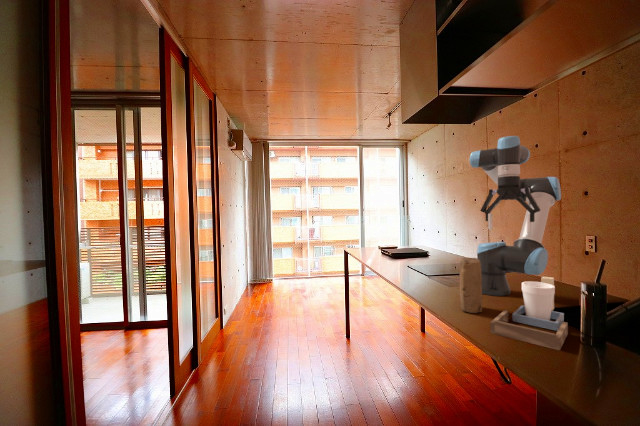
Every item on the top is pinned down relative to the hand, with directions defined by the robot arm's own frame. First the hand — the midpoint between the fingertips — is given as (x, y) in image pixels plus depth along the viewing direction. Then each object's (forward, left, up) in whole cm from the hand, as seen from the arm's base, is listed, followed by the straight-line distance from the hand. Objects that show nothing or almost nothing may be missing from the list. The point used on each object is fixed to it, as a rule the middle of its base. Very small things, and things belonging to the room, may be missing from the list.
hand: (509, 230), depth 122 cm
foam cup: (+7, +15, -31) cm, 35 cm away
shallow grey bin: (+19, +19, -31) cm, 41 cm away
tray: (0, +12, -31) cm, 33 cm away
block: (+16, -5, -31) cm, 35 cm away
